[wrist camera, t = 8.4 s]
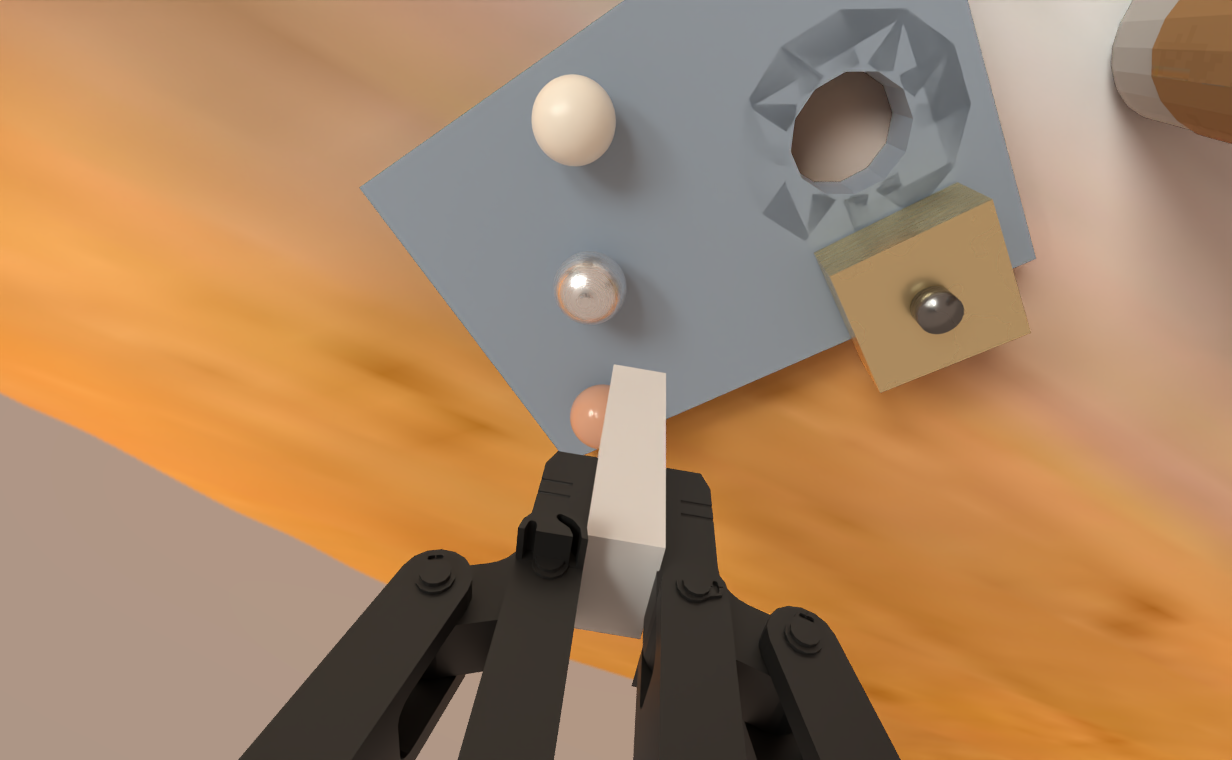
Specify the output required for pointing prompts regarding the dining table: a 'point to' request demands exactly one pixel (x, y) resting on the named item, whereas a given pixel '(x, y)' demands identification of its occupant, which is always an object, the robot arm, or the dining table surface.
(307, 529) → the dining table surface
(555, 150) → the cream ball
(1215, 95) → the coffee cup
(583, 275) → the steel ball
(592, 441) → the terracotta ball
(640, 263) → the board
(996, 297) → the brass cover
